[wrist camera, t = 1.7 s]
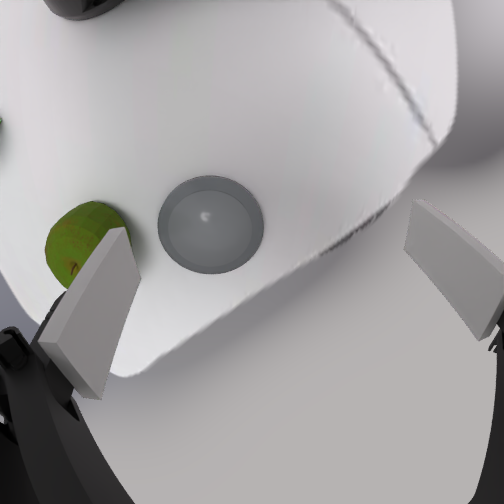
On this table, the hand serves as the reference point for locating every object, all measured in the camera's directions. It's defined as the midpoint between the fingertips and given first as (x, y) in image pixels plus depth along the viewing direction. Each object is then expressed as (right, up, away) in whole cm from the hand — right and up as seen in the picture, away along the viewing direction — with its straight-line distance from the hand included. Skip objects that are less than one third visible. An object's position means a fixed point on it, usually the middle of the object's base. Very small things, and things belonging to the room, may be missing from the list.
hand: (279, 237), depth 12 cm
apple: (-23, +3, +25) cm, 34 cm away
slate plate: (-7, +3, +26) cm, 27 cm away
